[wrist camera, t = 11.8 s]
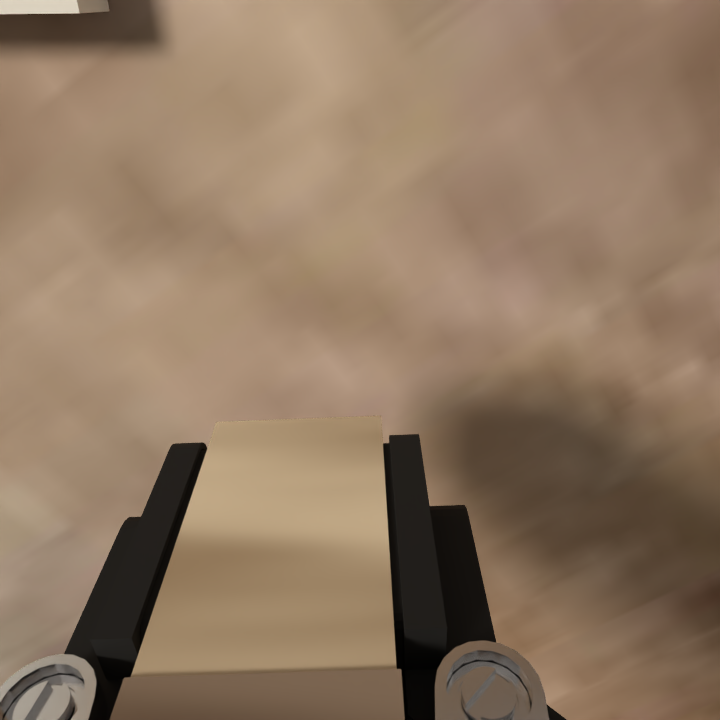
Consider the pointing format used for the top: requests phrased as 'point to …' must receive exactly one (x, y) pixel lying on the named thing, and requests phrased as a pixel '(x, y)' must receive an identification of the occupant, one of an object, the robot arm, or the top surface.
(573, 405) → the top surface
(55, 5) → the tile
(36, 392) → the top surface
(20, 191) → the top surface
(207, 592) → the small cardboard box
